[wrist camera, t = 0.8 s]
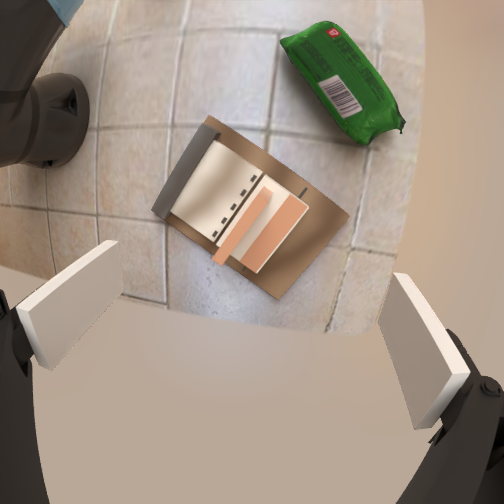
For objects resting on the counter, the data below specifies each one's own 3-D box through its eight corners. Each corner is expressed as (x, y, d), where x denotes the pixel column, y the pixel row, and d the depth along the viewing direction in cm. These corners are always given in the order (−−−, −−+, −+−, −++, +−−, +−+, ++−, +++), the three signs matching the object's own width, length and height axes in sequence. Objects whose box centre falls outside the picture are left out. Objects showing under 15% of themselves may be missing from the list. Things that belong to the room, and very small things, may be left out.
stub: (218, 241, 36) (201, 262, 30) (265, 174, 32) (258, 182, 26) (258, 269, 37) (249, 296, 30) (308, 205, 33) (311, 221, 27)
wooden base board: (155, 208, 37) (144, 214, 34) (211, 115, 32) (203, 113, 29) (278, 296, 39) (277, 307, 36) (348, 214, 34) (352, 220, 31)
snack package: (352, 155, 31) (363, 157, 26) (275, 48, 28) (271, 33, 23) (399, 127, 29) (416, 125, 24) (323, 22, 26) (327, 4, 21)
